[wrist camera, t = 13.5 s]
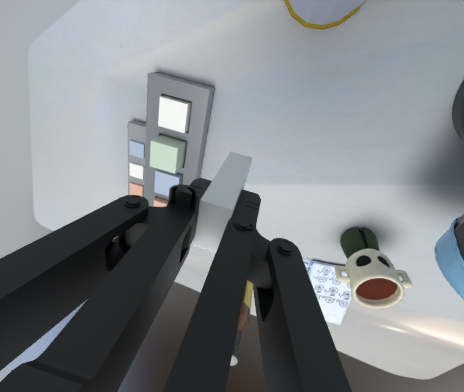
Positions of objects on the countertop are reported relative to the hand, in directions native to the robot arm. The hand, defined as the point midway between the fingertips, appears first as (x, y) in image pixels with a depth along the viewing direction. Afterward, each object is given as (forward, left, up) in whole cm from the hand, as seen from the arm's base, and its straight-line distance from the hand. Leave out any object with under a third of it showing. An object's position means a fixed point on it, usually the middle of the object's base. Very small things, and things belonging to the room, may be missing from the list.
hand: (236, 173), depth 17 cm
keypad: (+16, +17, -26) cm, 35 cm away
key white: (+14, +4, -26) cm, 30 cm away
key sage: (+14, +11, -24) cm, 30 cm away
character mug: (-24, +19, -27) cm, 41 cm away
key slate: (+14, +17, -26) cm, 34 cm away
